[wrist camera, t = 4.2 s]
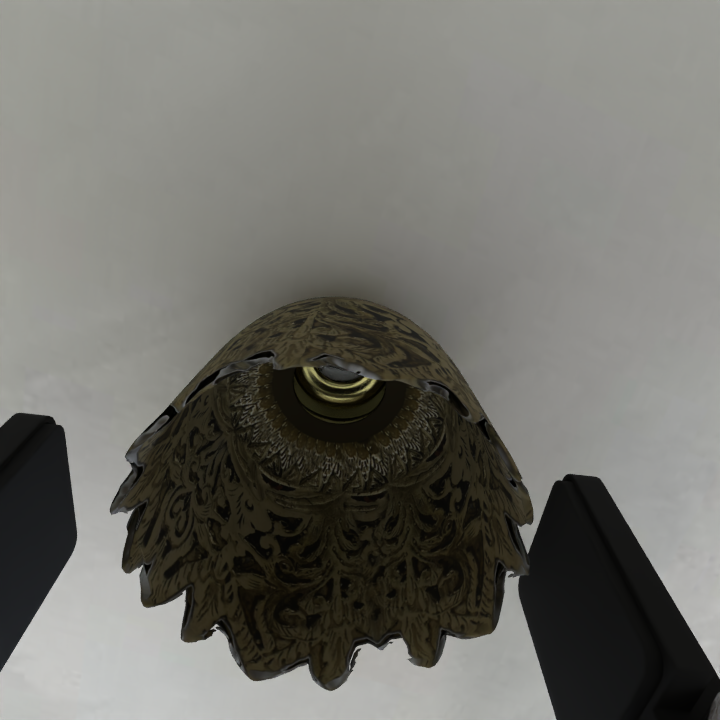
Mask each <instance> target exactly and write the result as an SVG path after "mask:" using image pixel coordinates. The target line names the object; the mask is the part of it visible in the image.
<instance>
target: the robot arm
mask: <svg viewBox="0 0 720 720" xmlns="http://www.w3.org/2000/svg"><path fill="white" fill-rule="evenodd" d="M76 541H77V528H76V520H75V512H74V504H73V496H72V488H71V480H70V472H69V464H68V456H67V447H66V439H65V432H64V428H63V427H62V426H60V425H56V423H55V420H54V419H53V417H50V416H44V415H35V414H26V413H16V414H15V415H13V416H12V417H11V418H10V419H9V420H8V421H7V422H6V423H5V424H4V425H3V426H2V427H1V428H0V672H1V670H2V668H3V667H4V665H5V663H6V662H7V660H8V659H9V657H10V655H11V654H12V652H13V650H14V649H15V647H16V645H17V644H18V642H19V640H20V639H21V637H22V635H23V634H24V632H25V631H26V629H27V627H28V626H29V624H30V622H31V621H32V619H33V617H34V616H35V614H36V612H37V611H38V609H39V607H40V606H41V604H42V603H43V601H44V599H45V598H46V596H47V594H48V593H49V591H50V589H51V588H52V586H53V584H54V583H55V581H56V579H57V578H58V576H59V575H60V573H61V571H62V570H63V568H64V566H65V565H66V563H67V561H68V560H69V558H70V556H71V555H72V553H73V551H74V548H75V545H76ZM528 558H529V561H530V570H529V575H528V576H527V575H522V576H521V575H520V578H519V584H518V591H519V597H520V601H521V604H522V607H523V611H524V614H525V617H526V620H527V624H528V627H529V630H530V634H531V637H532V640H533V643H534V647H535V650H536V653H537V657H538V660H539V663H540V666H541V670H542V673H543V676H544V680H545V683H546V686H547V689H548V693H549V696H550V699H551V702H552V706H553V709H554V712H555V716H556V719H557V720H720V679H719V677H718V676H717V674H716V672H715V670H714V668H713V667H712V665H711V663H710V661H709V660H708V658H707V656H706V655H705V653H704V651H703V650H702V648H701V646H700V645H699V643H698V641H697V640H696V638H695V636H694V635H693V633H692V631H691V630H690V628H689V626H688V625H687V623H686V621H685V620H684V618H683V616H682V615H681V613H680V611H679V610H678V608H677V606H676V605H675V603H674V601H673V599H672V598H671V596H670V594H669V593H668V591H667V589H666V588H665V586H664V584H663V583H662V581H661V579H660V578H659V576H658V574H657V573H656V571H655V569H654V568H653V566H652V564H651V563H650V561H649V559H648V558H647V556H646V554H645V553H644V551H643V549H642V548H641V546H640V544H639V543H638V541H637V539H636V537H635V536H634V534H633V532H632V531H631V529H630V527H629V526H628V524H627V522H626V521H625V519H624V517H623V516H622V514H621V512H620V511H619V509H618V507H617V506H616V504H615V502H614V501H613V499H612V497H611V496H610V494H609V492H608V491H607V489H606V487H605V486H604V484H603V482H602V481H601V480H600V479H599V478H597V477H593V476H584V475H575V474H567V475H566V476H565V477H564V478H563V480H562V481H561V480H558V481H556V482H555V483H554V485H553V487H552V490H551V493H550V495H549V498H548V501H547V504H546V506H545V509H544V512H543V515H542V517H541V520H540V523H539V526H538V528H537V531H536V534H535V536H534V539H533V542H532V545H531V547H530V550H529V553H528Z"/></svg>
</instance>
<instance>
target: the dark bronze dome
mask: <svg viewBox="0 0 720 720" xmlns="http://www.w3.org/2000/svg"><path fill="white" fill-rule="evenodd" d="M322 366H330V367H335V368H338V369H341V370H347V371H351V372H353V373H356V374H358V375H361V376H360V377H359V378H357V379H355V380H353V381H350V382H336V381H332V380H330V379H328V378H326V377H325V376H324V375H323V374H322V373H321V372H320V371H319V369H318V368H322ZM125 458H126V459H127V461H129V462H132V461H133V463H130V464H131V466H132V468H133V469H132V471H131V472H130V474H129V475H128V477H127V478H126V480H125V481H124V482H123V483H122V485H121V486H120V488H119V490H118V492H117V494H116V496H115V498H114V500H113V502H112V504H111V507H110V513H111V515H112V514H116V513H118V512H124V513H125V512H127V511H131V510H133V509H134V508H135V509H134V510H133V512H132V514H131V516H130V519H129V521H128V523H127V531H128V535H127V539H126V543H125V547H124V551H123V558H122V569H123V570H124V572H125V573H131V572H132V571H134V570H135V569H136V568H137V567H138V568H140V567H141V566H142V565H143V568H142V570H141V573H140V585H141V602H142V604H143V606H144V607H146V608H150V607H155V606H158V605H163V604H166V603H168V602H170V601H172V600H174V599H176V598H178V597H179V596H181V595H182V594H183V593H182V592H183V591H185V590H186V600H185V601H186V606H185V611H184V617H183V621H182V622H183V623H182V629H181V640H182V641H184V642H188V643H190V642H197V641H198V640H206V639H207V638H209V637H210V636H212V634H213V632H215V631H216V630H214V629H212V630H210V629H211V628H212V627H213V626H214V625H215V624H218V626H219V627H216V629H219V630H220V631H221V632H222V633H223V634H224V635H225V636H226V637H227V639H228V642H229V648H230V651H231V654H232V656H233V658H234V659H235V661H236V663H237V664H238V666H239V667H240V669H241V670H242V671H243V672H244V673H245V674H246V675H247V676H248V677H249V678H250V679H251V680H253V681H262V680H266V679H271V678H275V677H278V676H280V675H283V674H284V673H287V672H290V671H292V670H294V669H296V668H297V667H300V666H304V665H307V664H308V665H309V671H310V674H311V676H312V678H313V680H314V681H315V682H316V683H317V684H318V685H319V686H321V687H322V688H324V689H326V690H329V691H333V690H335V689H337V688H339V687H340V686H341V685H342V684H343V683H345V682H346V681H347V678H348V676H349V675H350V673H351V672H352V671H353V670H352V668H353V667H354V665H355V663H356V662H355V659H356V657H357V656H358V652H359V651H360V650H361V648H360V649H358V650H357V651H356V652H355V653H354V655H353V652H354V650H355V648H356V647H357V646H359V645H363V644H367V643H369V644H371V645H373V646H375V647H377V648H378V649H379V650H383V649H384V648H385V647H386V646H387V645H388V644H389V643H393V642H389V641H390V640H391V639H398V638H403V640H404V642H405V643H406V645H407V648H408V654H409V655H410V656H411V657H412V658H410V659H408V660H409V661H410V662H411V663H413V664H414V665H417V666H422V667H426V668H431V667H433V666H435V665H436V663H437V662H438V661H439V659H440V657H441V655H442V652H443V649H444V645H445V642H446V635H449V636H453V637H457V638H460V639H471V638H477V637H480V636H483V635H486V634H491V633H492V632H493V631H494V630H495V628H496V626H497V623H498V620H499V616H500V612H501V607H502V602H503V597H504V593H505V592H504V583H505V576H506V572H507V571H513V572H514V574H511V575H509V576H508V577H512V576H513V577H516V576H519V575H521V576H522V575H527V576H528V575H529V570H530V561H529V558H528V554H527V552H526V549H525V546H524V544H523V541H522V538H521V536H520V532H519V529H518V526H520V527H522V526H523V525H524V524H526V523H527V524H529V525H531V524H532V523H533V519H534V518H533V507H532V503H531V499H530V497H529V493H528V490H527V489H526V487H525V486H524V484H523V483H522V481H521V479H522V477H521V475H520V473H519V471H518V468H517V466H516V464H515V462H514V460H513V459H512V457H511V455H510V453H509V452H508V450H507V448H506V447H505V445H504V444H503V442H502V440H501V439H500V437H499V436H498V434H497V432H496V431H495V429H494V427H493V426H492V424H491V422H490V420H489V419H488V417H487V415H486V414H485V412H484V410H483V408H482V407H481V405H480V403H479V402H478V400H477V398H476V397H475V395H474V393H473V392H472V390H471V389H470V387H469V385H468V384H467V382H466V381H465V379H464V377H463V376H462V374H461V373H460V371H459V370H458V368H457V367H456V365H455V364H454V362H453V361H452V360H451V359H450V357H449V356H448V355H447V354H446V352H445V351H444V350H443V349H442V348H441V346H440V345H439V344H438V343H437V342H436V341H435V340H434V339H433V338H432V337H431V336H430V335H429V334H428V333H427V332H425V331H424V330H423V329H422V328H420V327H419V326H418V325H416V324H415V323H414V322H412V321H411V320H410V319H408V318H406V317H405V316H403V315H401V314H399V313H398V312H396V311H394V310H391V309H389V308H387V307H385V306H382V305H379V304H376V303H373V302H369V301H365V300H360V299H355V298H345V297H322V298H313V299H307V300H303V301H299V302H295V303H292V304H289V305H286V306H283V307H281V308H279V309H277V310H275V311H273V312H270V313H268V314H266V315H264V316H262V317H261V318H259V319H258V320H256V321H254V322H253V323H251V324H250V325H249V326H247V327H246V328H245V329H243V330H242V331H241V332H240V333H238V334H237V335H236V336H235V337H234V338H232V339H231V340H230V341H229V342H228V343H227V344H226V345H225V346H224V347H223V348H222V349H221V350H220V351H219V352H218V353H217V354H216V355H215V356H214V357H213V358H212V359H211V360H210V361H209V362H208V363H207V364H206V365H205V366H204V368H203V369H202V370H201V371H200V372H199V373H198V374H197V375H196V376H195V377H194V378H193V379H192V380H191V382H190V383H189V384H188V385H187V386H186V387H185V388H184V389H183V390H182V392H181V393H180V394H179V395H178V396H177V397H176V398H175V399H174V401H173V402H172V403H171V404H170V405H169V406H168V407H167V409H166V410H165V411H164V412H163V413H162V414H161V415H160V416H159V417H158V418H157V419H156V420H155V421H154V422H153V423H152V424H151V425H150V426H149V427H148V428H147V429H146V430H145V431H144V432H143V433H142V434H141V435H140V436H139V437H138V438H137V439H136V440H135V441H134V443H133V444H132V445H131V447H130V448H129V450H128V451H127V453H126V455H125ZM517 525H518V526H517ZM447 633H449V634H447ZM388 642H389V643H388ZM352 655H353V658H352V660H351V663H350V659H351V657H352ZM349 665H350V666H351V668H350V671H349ZM351 670H352V671H351Z"/></svg>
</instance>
